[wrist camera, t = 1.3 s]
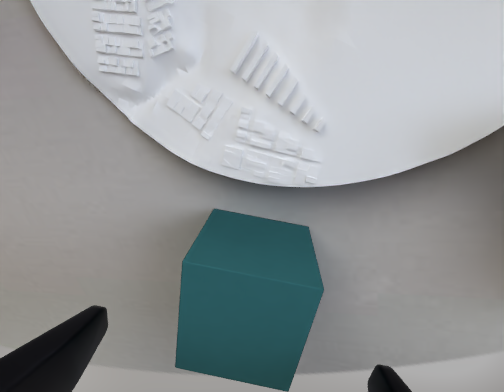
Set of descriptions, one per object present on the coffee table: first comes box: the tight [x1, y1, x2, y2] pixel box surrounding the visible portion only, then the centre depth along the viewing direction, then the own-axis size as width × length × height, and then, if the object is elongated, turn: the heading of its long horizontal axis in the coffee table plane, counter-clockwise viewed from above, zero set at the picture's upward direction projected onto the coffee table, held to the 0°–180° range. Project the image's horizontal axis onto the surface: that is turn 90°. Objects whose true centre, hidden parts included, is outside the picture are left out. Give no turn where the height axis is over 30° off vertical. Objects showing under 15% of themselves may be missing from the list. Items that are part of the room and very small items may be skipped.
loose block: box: [175, 209, 324, 391], centre depth 10 cm, size 5×4×4 cm
